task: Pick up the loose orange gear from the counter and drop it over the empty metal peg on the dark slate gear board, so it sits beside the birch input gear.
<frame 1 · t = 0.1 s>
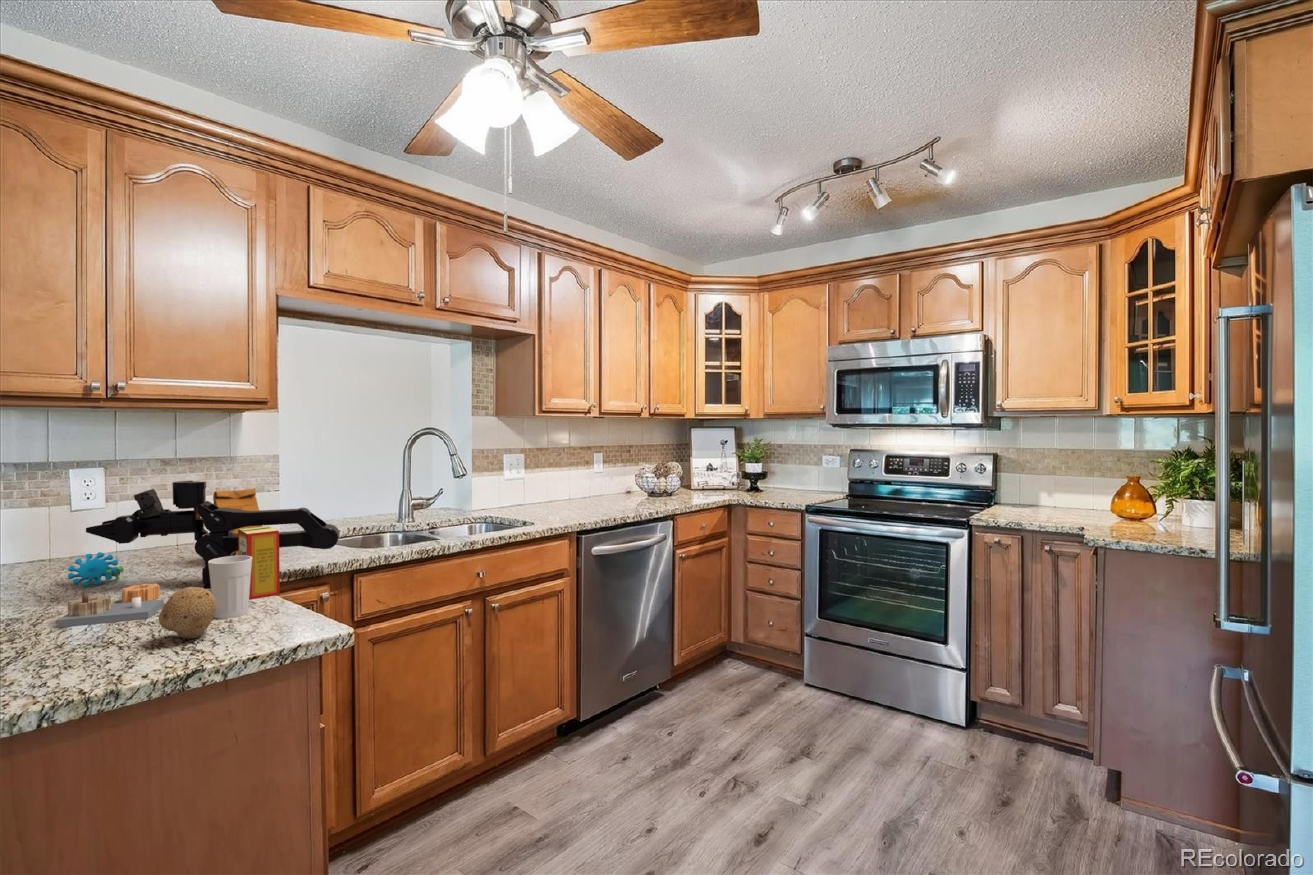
hand: (94, 527, 152), 17 cm above the countertop, tool horizontal, fingers open, 9 cm apart
orange gear: (141, 599, 148), on the countertop
gear: (96, 584, 163), on the countertop
birch input gear: (89, 611, 134), resting on gear board
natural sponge: (189, 639, 122), on the countertop
cup: (231, 614, 138), on the countertop
gear board: (113, 616, 136), on the countertop
coffee package: (238, 564, 186), on the countertop
baking soda box: (259, 594, 154), on the countertop
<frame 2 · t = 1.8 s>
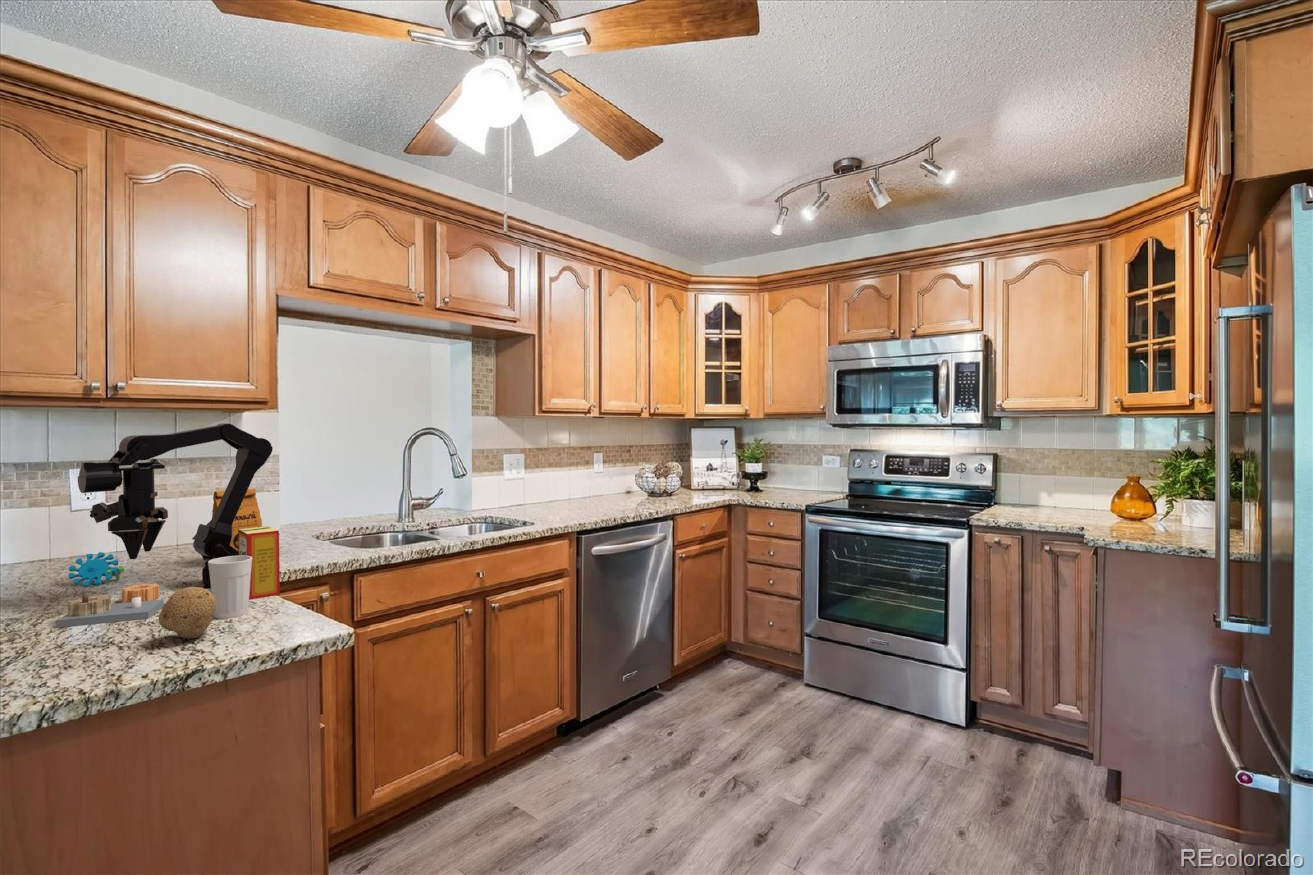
hand: (140, 555, 148), 11 cm above the countertop, tool pointing down, fingers open, 9 cm apart
nothing on the countertop moved.
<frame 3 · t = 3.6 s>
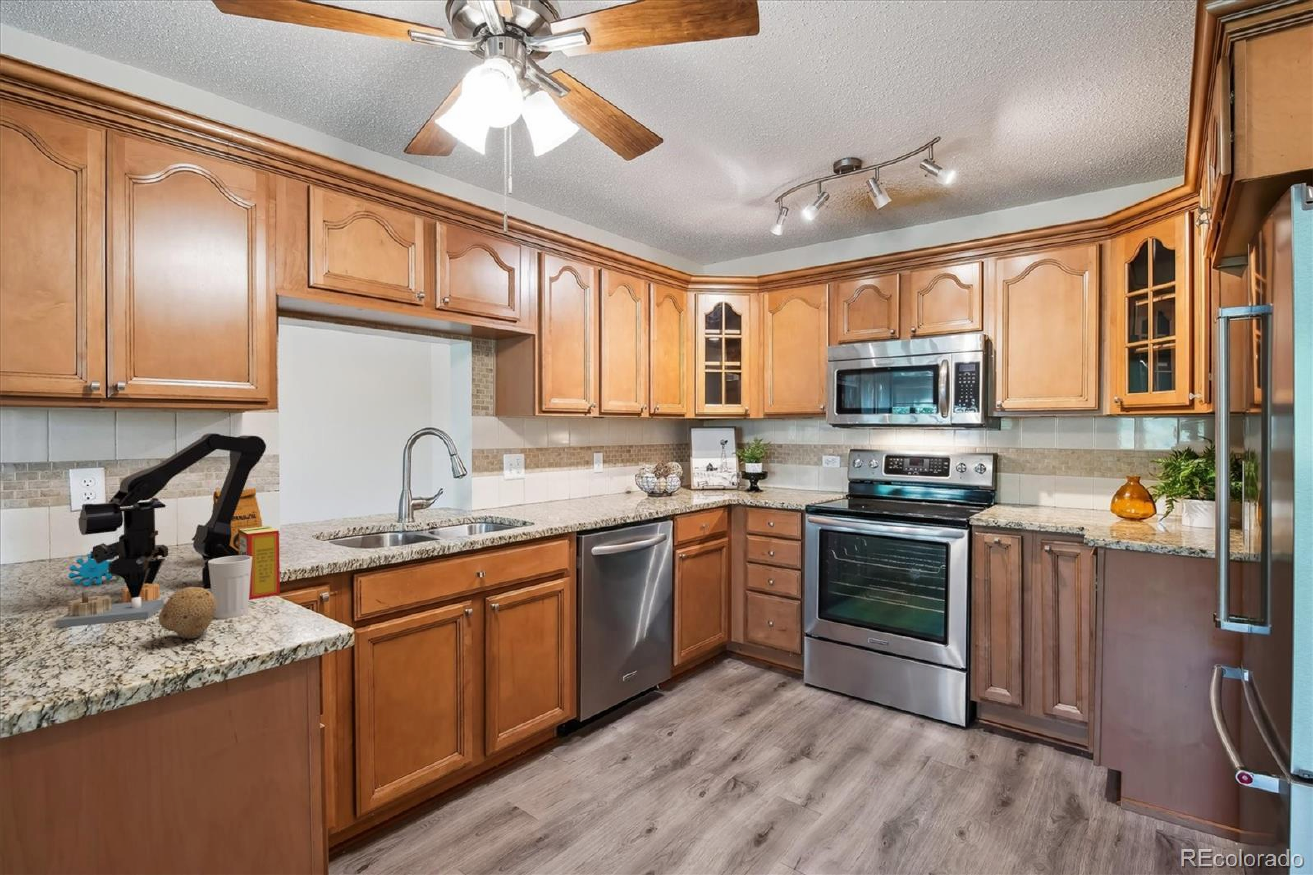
hand: (141, 594, 148), 1 cm above the countertop, tool pointing down, fingers closed on orange gear, 7 cm apart
orange gear: (141, 599, 148), on the countertop, touching gripper
everything else where it was.
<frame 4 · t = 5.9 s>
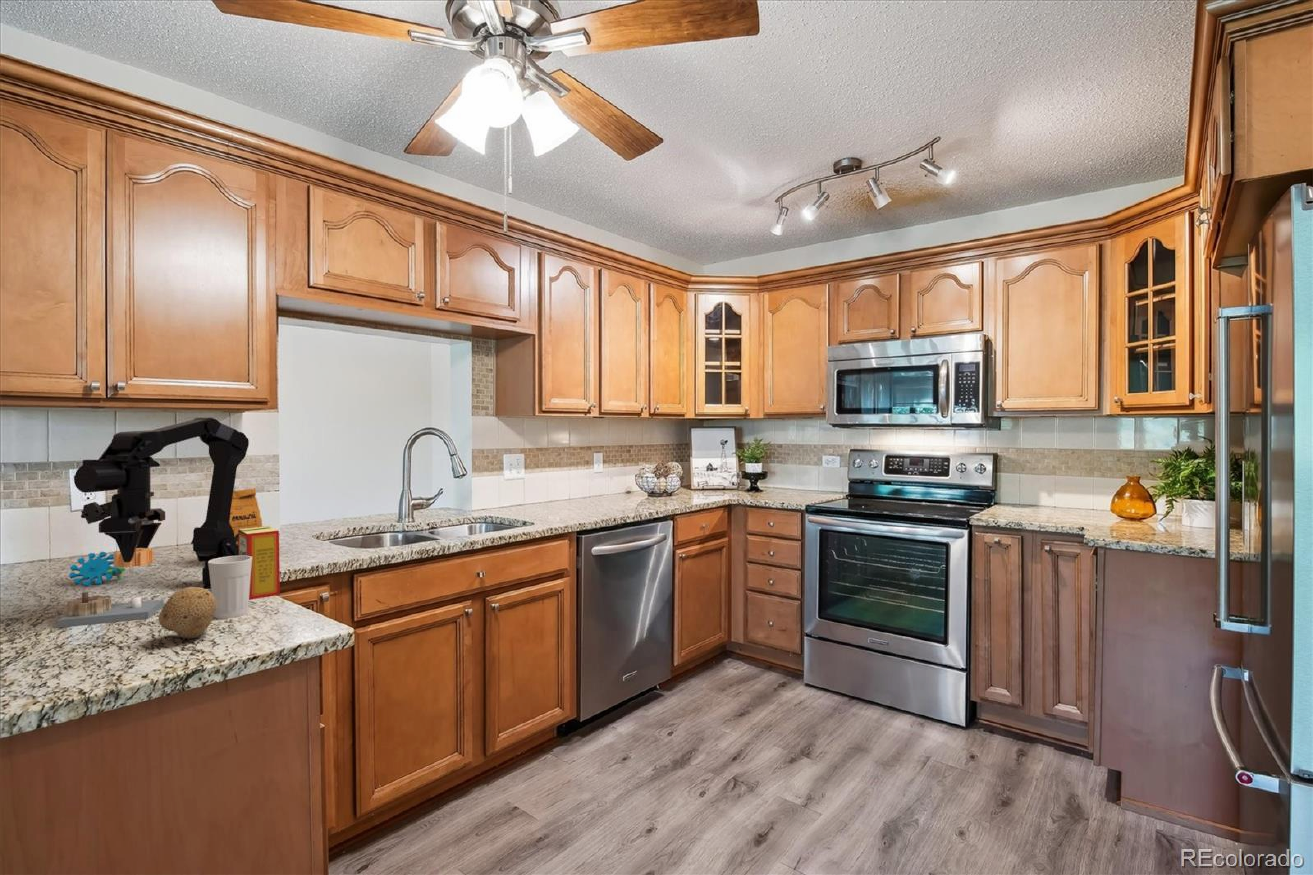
hand: (134, 558, 140), 12 cm above the countertop, tool pointing down, fingers closed on orange gear, 7 cm apart
orange gear: (134, 564, 140), point 10 cm above the countertop, touching gripper
everything else where it was.
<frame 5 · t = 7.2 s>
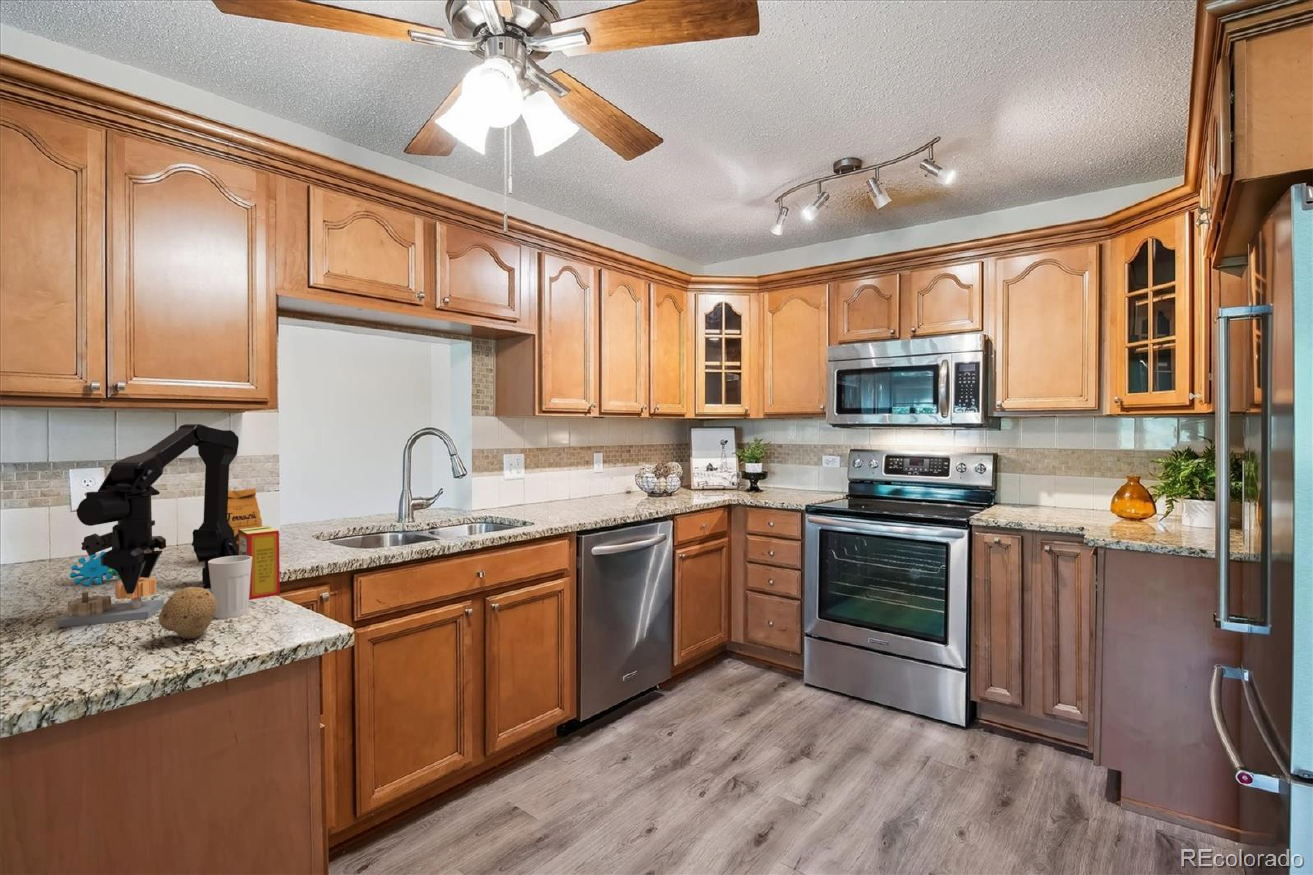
hand: (136, 589, 137), 5 cm above the countertop, tool pointing down, fingers closed on orange gear, 7 cm apart
orange gear: (136, 594, 137), point 4 cm above the countertop, touching gripper
everything else where it was.
when the fingers open (4 cm above the countertop, at t = 8.5 s): orange gear drops 1 cm, resting on gear board.
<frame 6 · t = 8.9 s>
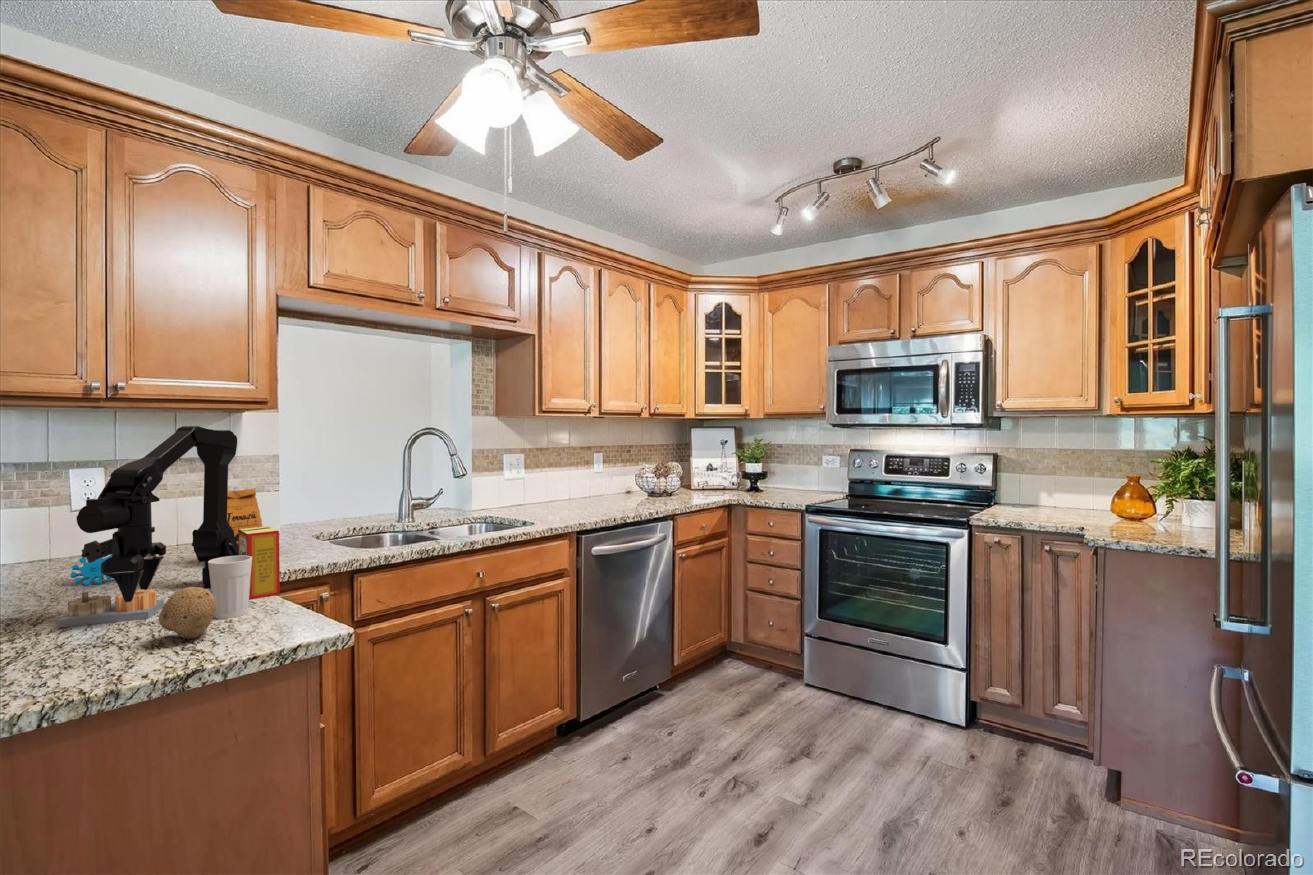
hand: (136, 596, 137), 4 cm above the countertop, tool pointing down, fingers open, 9 cm apart
orange gear: (136, 607, 138), point 1 cm above the countertop, touching gear board
everything else where it was.
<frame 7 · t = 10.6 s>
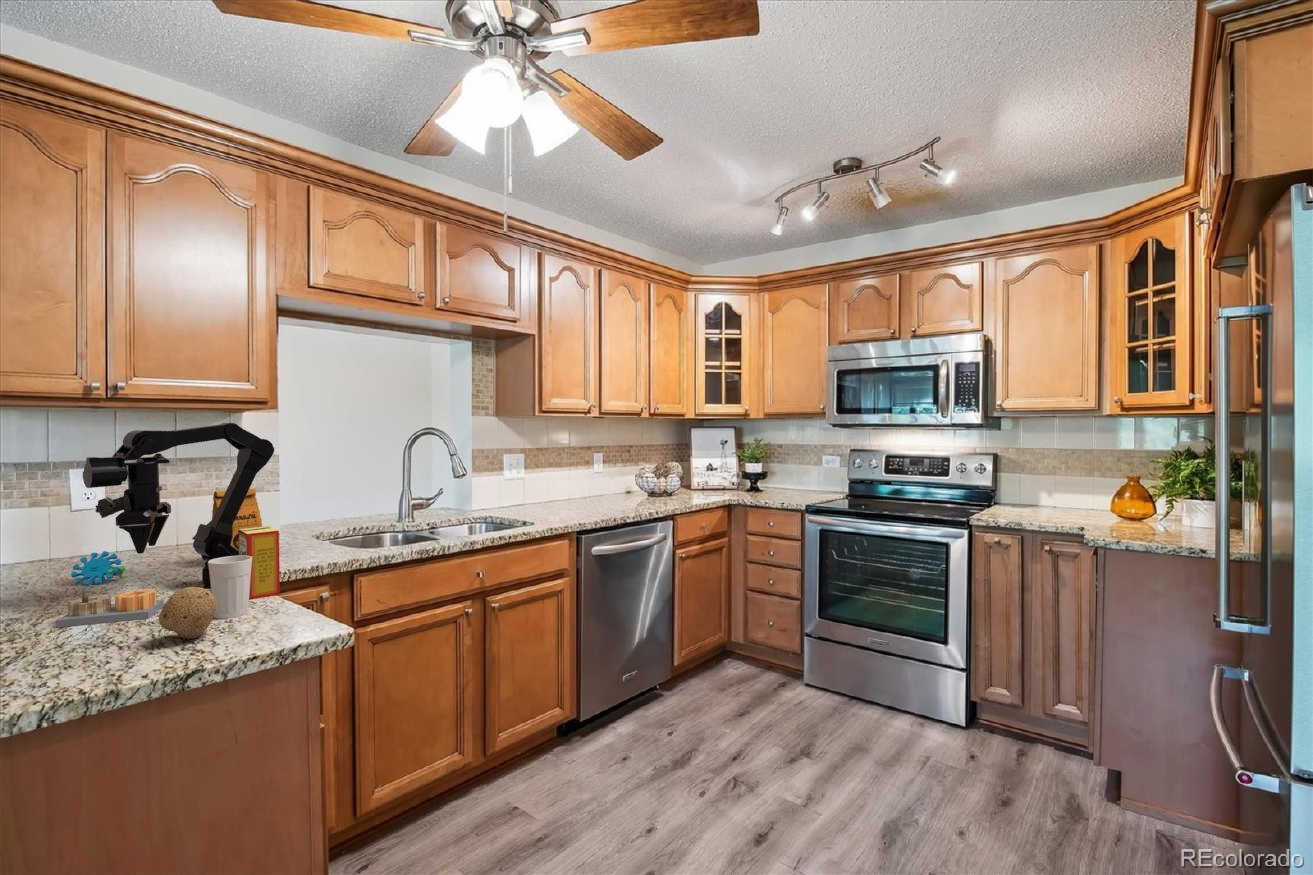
hand: (146, 549, 149), 12 cm above the countertop, tool pointing down, fingers open, 9 cm apart
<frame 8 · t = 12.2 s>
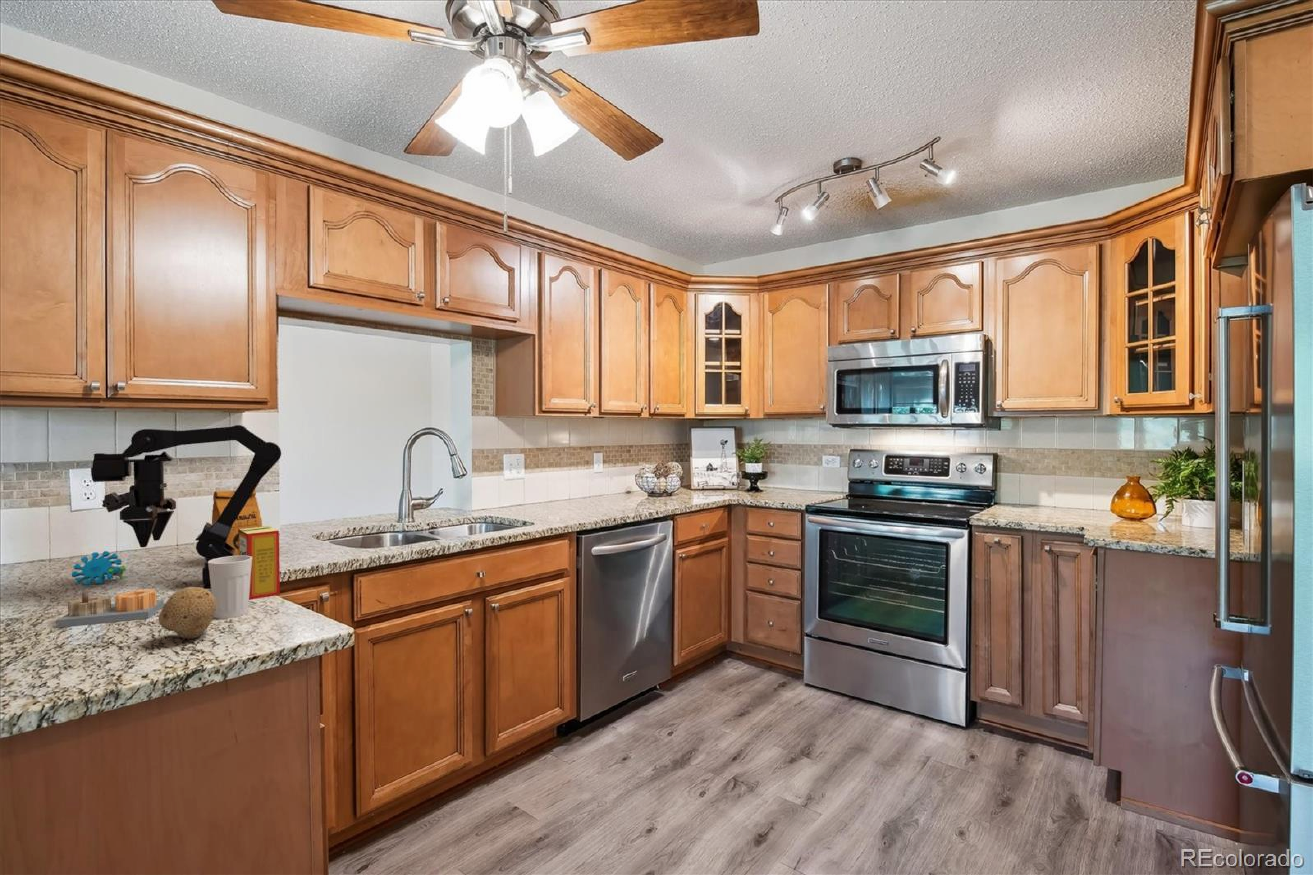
hand: (150, 543, 154), 12 cm above the countertop, tool pointing down, fingers open, 9 cm apart
at the end: orange gear 0.1 cm from the target spot, point 1.5 cm above the countertop; orange gear tilted 0°; the gripper is holding nothing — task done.
